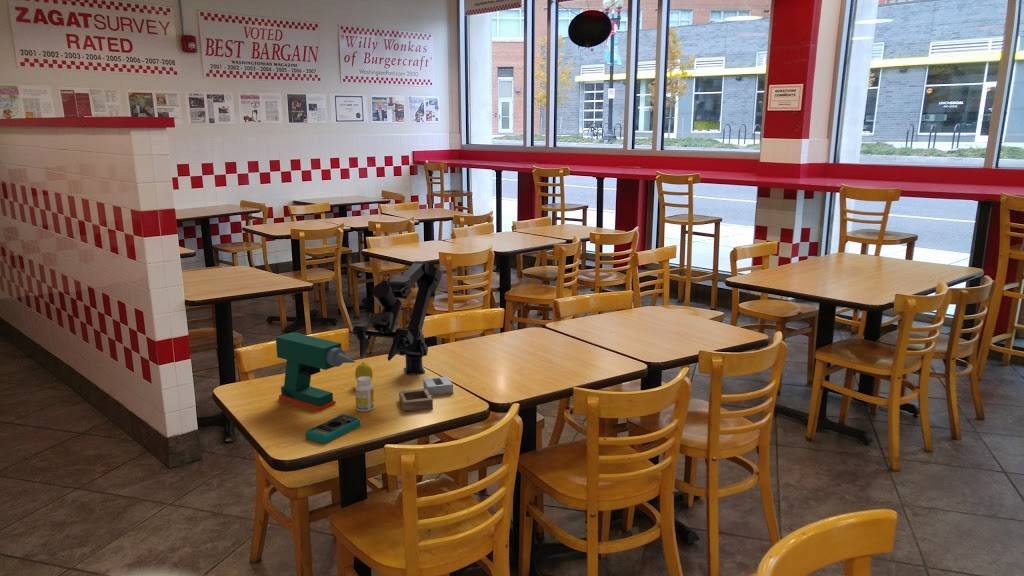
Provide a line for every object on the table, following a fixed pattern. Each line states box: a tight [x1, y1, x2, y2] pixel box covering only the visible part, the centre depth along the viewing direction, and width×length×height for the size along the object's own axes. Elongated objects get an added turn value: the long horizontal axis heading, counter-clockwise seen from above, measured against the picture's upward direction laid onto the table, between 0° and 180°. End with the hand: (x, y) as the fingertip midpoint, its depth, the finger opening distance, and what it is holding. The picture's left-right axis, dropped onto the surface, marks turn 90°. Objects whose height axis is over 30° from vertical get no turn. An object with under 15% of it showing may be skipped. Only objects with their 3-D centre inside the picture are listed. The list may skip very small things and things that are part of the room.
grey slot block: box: [422, 376, 454, 396], centre depth 230 cm, size 8×8×3 cm
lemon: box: [354, 361, 373, 381], centre depth 234 cm, size 6×6×8 cm
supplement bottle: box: [354, 376, 375, 413], centre depth 214 cm, size 5×5×10 cm
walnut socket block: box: [398, 388, 434, 413], centre depth 218 cm, size 10×8×3 cm
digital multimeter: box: [305, 413, 362, 444], centre depth 199 cm, size 7×15×3 cm, turn 149°
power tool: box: [275, 331, 356, 412], centre depth 216 cm, size 32×7×20 cm, turn 56°
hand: (374, 358), depth 219 cm, fingers open, 9 cm apart
